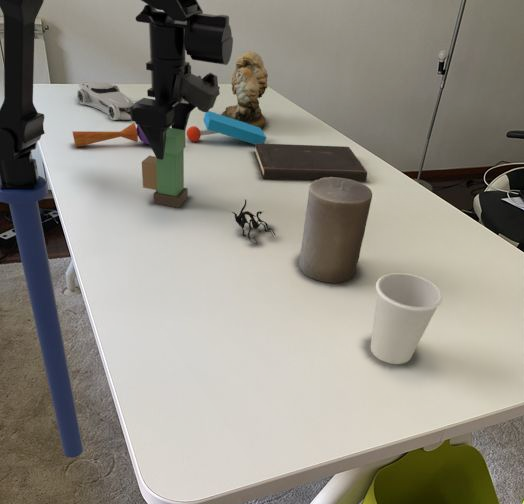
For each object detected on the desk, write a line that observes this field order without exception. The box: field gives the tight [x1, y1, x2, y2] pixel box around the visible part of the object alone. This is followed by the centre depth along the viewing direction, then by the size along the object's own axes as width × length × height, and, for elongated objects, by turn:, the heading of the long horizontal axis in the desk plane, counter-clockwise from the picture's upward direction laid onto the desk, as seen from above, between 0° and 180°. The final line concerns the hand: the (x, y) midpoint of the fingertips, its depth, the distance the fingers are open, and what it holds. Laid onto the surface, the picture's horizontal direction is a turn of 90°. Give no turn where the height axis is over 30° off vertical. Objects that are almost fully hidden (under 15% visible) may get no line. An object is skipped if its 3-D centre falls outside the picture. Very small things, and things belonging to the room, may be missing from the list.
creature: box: [231, 198, 276, 245], centre depth 97 cm, size 8×5×8 cm
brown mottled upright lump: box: [221, 50, 269, 130], centre depth 143 cm, size 18×12×17 cm, turn 9°
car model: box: [76, 81, 135, 121], centre depth 147 cm, size 11×24×5 cm, turn 42°
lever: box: [186, 110, 267, 145], centre depth 134 cm, size 7×7×18 cm
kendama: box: [71, 122, 150, 148], centre depth 125 cm, size 6×6×20 cm
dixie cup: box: [370, 272, 444, 365], centre depth 72 cm, size 8×8×10 cm
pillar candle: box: [298, 177, 373, 284], centre depth 87 cm, size 10×10×15 cm
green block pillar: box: [141, 127, 189, 209], centre depth 102 cm, size 12×5×12 cm
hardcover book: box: [253, 143, 368, 182], centre depth 125 cm, size 16×23×2 cm
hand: (170, 150), depth 100 cm, fingers open, 9 cm apart
